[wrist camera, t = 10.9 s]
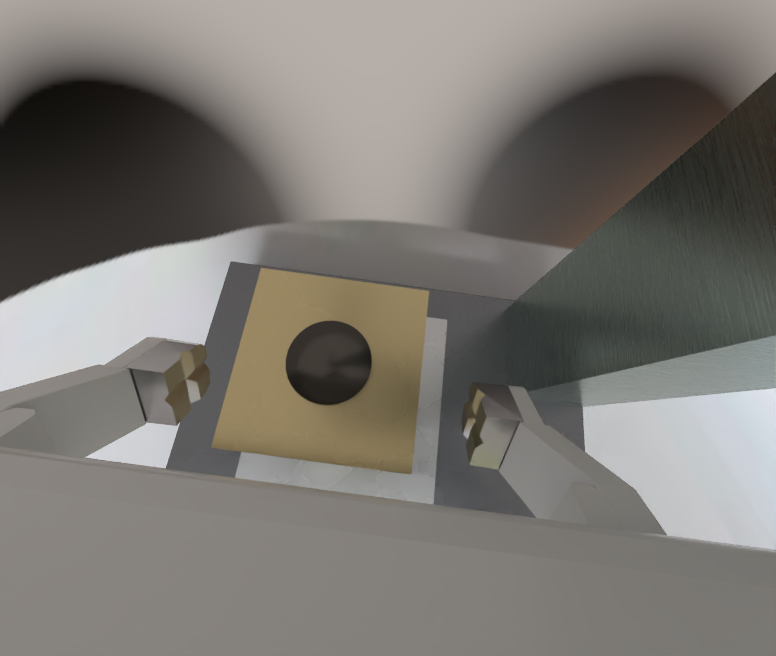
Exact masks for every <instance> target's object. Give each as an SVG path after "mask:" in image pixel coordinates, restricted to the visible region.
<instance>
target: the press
mask: <svg viewBox="0 0 776 656" xmlns="http://www.w3.org/2000/svg"><path fill="white" fill-rule="evenodd" d="M261 268H266V269H274V270H281V271H288V272H295V273H303V274H310V275H317V276H324V277H332V278H339V279H346V280H354V281H361V282H368V283H375V284H383V285H390V286H397V287H404V288H412V289H419V290H426V291H429V298H428V309H427V319H426V329H425V340H424V350H423V361H422V371H421V381H420V392H419V402H418V412H417V423H416V433H415V444H414V454H413V464H412V474H405V473H397V472H390V471H382V470H375V469H367V468H360V467H352V466H345V465H337V464H330V463H322V462H315V461H307V460H300V459H292V458H285V457H277V456H270V455H262V454H255V453H247V452H240V451H232V450H225V449H217V448H211V445H212V442H213V438H214V434H215V431H216V427H217V424H218V420H219V417H220V413H221V409H222V406H223V402H224V399H225V395H226V392H227V388H228V384H229V381H230V377H231V374H232V370H233V366H234V363H235V359H236V356H237V352H238V349H239V345H240V341H241V338H242V334H243V331H244V327H245V323H246V320H247V316H248V313H249V309H250V306H251V302H252V298H253V295H254V291H255V288H256V284H257V281H258V277H259V273H260V270H261ZM204 346H205V347H206V352H207V356H208V357H207V358H206V360H205V361H204V363H205V364H206V365H207V367H208V368H209V369H210V375H211V377H210V384H209V387H208V389H207V392H206V393H205V394H204V395H203V397H202V398H201V399H199V400H197V401H195V402H193V403H191V410H190V411H189V412H188V414H187V415H186V416H185V417H184V418H183V419H182V420H181V422H180V425H179V428H178V431H177V434H176V438H175V441H174V444H173V447H172V450H171V454H170V457H169V460H168V463H167V466H166V469H173V470H180V471H188V472H195V473H203V474H210V475H218V476H225V477H233V478H240V479H248V480H255V481H263V482H270V483H278V484H286V485H293V486H301V487H308V488H316V489H323V490H331V491H338V492H345V493H353V494H360V495H368V496H375V497H382V498H390V499H397V500H405V501H412V502H419V503H427V504H434V505H441V506H449V507H457V508H464V509H472V510H479V511H487V512H495V513H502V514H510V515H517V516H525V517H532V518H536V517H535V515H534V514H533V513H532V512H531V510H530V509H529V508H528V507H527V505H526V504H525V503H524V502H523V500H522V499H521V498H520V497H519V495H518V494H517V493H516V492H515V491H514V489H513V488H512V487H511V486H510V484H509V483H508V482H507V481H506V479H505V478H504V477H503V476H502V474H501V473H500V472H499V470H497V469H491V468H485V467H479V466H472V465H469V461H468V456H467V451H466V443H467V440H468V439H467V438H466V437H465V436H464V435H463V431H462V422H461V421H462V412H463V408H464V404H465V403H466V402H467V401H469V400H470V397H469V393H468V391H469V388H470V385H471V383H472V382H481V383H489V384H498V385H509V386H519V387H523V388H525V389H526V391H527V393H528V395H529V397H530V399H531V401H532V402H533V404H534V406H535V408H536V410H537V412H538V414H539V416H540V417H541V419H542V421H543V423H544V425H548V426H551V427H552V428H553V429H555V430H556V431H557V432H559V433H560V434H561V435H563V436H564V437H566V438H567V439H568V440H570V441H571V442H572V443H574V444H575V445H576V446H578V447H579V448H580V449H582V450H583V451H584V452H585V445H584V427H583V410H582V407H585V406H595V405H605V404H616V403H626V402H636V401H647V400H657V399H667V398H678V397H688V396H698V395H709V394H719V393H729V392H740V391H750V390H760V389H771V388H776V73H775V74H774V75H773V76H771V77H770V78H769V79H768V80H767V81H766V82H764V83H763V84H762V85H761V86H760V87H759V88H758V89H756V90H755V91H754V92H753V93H752V94H751V95H749V96H748V97H747V98H746V99H745V100H744V101H743V102H742V103H740V104H739V105H738V106H737V107H736V108H735V109H734V110H733V111H731V112H730V113H729V114H728V115H727V116H726V117H724V118H723V119H722V120H721V121H720V122H719V123H718V124H716V125H715V126H714V127H713V128H712V129H711V130H710V131H708V132H707V133H706V134H705V135H704V136H703V137H702V138H701V139H699V140H698V141H697V142H696V143H695V144H694V145H693V146H691V147H690V148H689V149H688V150H687V151H686V152H685V153H684V154H683V155H681V156H680V157H679V158H678V159H677V160H676V161H674V162H673V163H672V164H671V165H670V166H669V167H668V168H666V170H664V171H663V172H662V173H661V174H660V175H659V176H657V177H656V178H655V179H654V180H653V181H652V182H650V183H649V184H648V185H647V186H646V187H645V188H644V189H642V190H641V191H640V192H639V193H638V194H637V195H636V196H635V197H633V198H632V199H631V200H630V201H629V202H628V203H627V204H625V205H624V206H623V207H622V208H621V209H620V210H619V211H617V212H616V213H615V214H614V215H613V216H612V217H611V218H609V219H608V220H607V221H606V222H605V223H604V224H603V225H602V226H600V227H599V228H598V229H597V230H596V231H595V232H594V233H592V234H591V235H590V236H589V237H588V238H587V239H586V240H585V241H583V242H582V243H581V244H580V245H579V246H578V247H576V248H575V249H574V250H573V251H572V252H571V253H570V254H568V255H567V256H566V257H565V258H564V259H563V260H562V261H561V262H559V263H558V264H557V265H556V266H555V267H554V268H553V269H551V270H550V271H549V272H548V273H547V274H546V275H545V276H543V277H542V278H541V279H540V280H539V281H538V282H537V283H535V284H534V285H533V286H532V287H531V288H530V289H529V290H528V291H526V292H525V293H524V294H523V295H522V296H521V297H520V298H518V299H517V300H516V301H514V300H507V299H500V298H492V297H485V296H478V295H471V294H463V293H456V292H449V291H441V290H434V289H427V288H420V287H412V286H405V285H398V284H391V283H383V282H376V281H369V280H362V279H354V278H347V277H340V276H333V275H325V274H318V273H311V272H304V271H296V270H289V269H282V268H275V267H267V266H260V265H253V264H246V263H238V262H231V263H230V266H229V269H228V272H227V275H226V279H225V282H224V285H223V288H222V291H221V294H220V298H219V301H218V304H217V307H216V310H215V314H214V317H213V320H212V323H211V326H210V329H209V333H208V336H207V339H206V342H205V345H204Z"/></svg>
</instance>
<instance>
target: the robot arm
mask: <svg viewBox="0 0 776 656" xmlns="http://www.w3.org/2000/svg"><path fill="white" fill-rule="evenodd" d="M207 357H208V356H207V352H206V347H205V346H203V345H202V344H198V343H191V342H185V341H179V340H172V339H166V338H158V337H147V338H145V339H144V340H142V341H141V342H139V343H138V344H136V345H135V346H133V347H131V348H130V349H128V350H127V351H125V352H124V353H122V354H121V355H119V356H118V357H116V358H115V359H113V360H111V361H110V362H108V363H107V364H105V365H95V366H92V367H88V368H84V369H81V370H77V371H74V372H70V373H66V374H63V375H59V376H56V377H52V378H49V379H45V380H41V381H38V382H34V383H31V384H27V385H23V386H20V387H16V388H13V389H9V390H6V391H2V392H0V656H776V550H772V549H764V548H757V547H749V546H742V545H734V544H727V543H719V542H712V541H704V540H697V539H689V538H682V537H674V536H667V534H666V533H665V531H664V530H663V529H662V527H661V526H660V524H659V523H658V521H657V520H656V519H655V517H654V516H653V514H652V513H651V511H650V510H649V509H648V507H647V506H646V504H645V503H644V501H643V500H642V499H641V497H640V496H639V494H638V493H637V491H636V490H635V489H634V488H633V487H631V486H630V485H628V484H627V483H626V482H624V481H623V480H622V479H620V478H619V477H618V476H616V475H615V474H614V473H612V472H611V471H610V470H608V469H607V468H606V467H604V466H603V465H602V464H600V463H599V462H598V461H596V460H595V459H594V458H592V457H591V456H590V455H588V454H587V453H586V452H584V451H583V450H582V449H580V448H579V447H578V446H576V445H575V444H574V443H572V442H571V441H570V440H568V439H567V438H566V437H564V436H563V435H561V434H560V433H559V432H557V431H556V430H555V429H553V428H552V427H551V426H548V425H544V423H543V421H542V419H541V417H540V416H539V414H538V412H537V410H536V408H535V406H534V404H533V402H532V401H531V399H530V397H529V395H528V393H527V391H526V389H525V388H523V387H519V386H509V385H498V384H489V383H481V382H472V383H471V385H470V388H469V391H468V393H469V397H470V400H469V401H467V402H466V403H465V404H464V408H463V412H462V421H461V422H462V431H463V435H464V436H465V437H466V438H467V439H468V440H467V443H466V451H467V456H468V461H469V465H472V466H479V467H485V468H491V469H497V470H499V472H500V473H501V474H502V476H503V477H504V478H505V479H506V481H507V482H508V483H509V484H510V486H511V487H512V488H513V489H514V491H515V492H516V493H517V494H518V495H519V497H520V498H521V499H522V500H523V502H524V503H525V504H526V505H527V507H528V508H529V509H530V510H531V512H532V513H533V514H534V515H535V517H536V518H532V517H525V516H517V515H510V514H502V513H495V512H487V511H479V510H472V509H464V508H457V507H449V506H441V505H434V504H427V503H419V502H412V501H405V500H397V499H390V498H382V497H375V496H368V495H360V494H353V493H345V492H338V491H331V490H323V489H316V488H308V487H301V486H293V485H286V484H278V483H270V482H263V481H255V480H248V479H240V478H233V477H225V476H218V475H210V474H203V473H195V472H188V471H180V470H173V469H165V468H158V467H150V466H143V465H135V464H128V463H120V462H113V461H106V460H98V459H91V458H84V457H86V456H88V455H90V454H92V453H94V452H95V451H97V450H99V449H101V448H103V447H104V446H106V445H108V444H110V443H112V442H114V441H115V440H117V439H119V438H121V437H123V436H125V435H126V434H128V433H130V432H132V431H134V430H136V429H137V428H139V427H141V426H143V425H145V424H146V422H148V423H157V424H166V425H176V426H177V425H178V424H179V422H180V421H181V420H182V419H183V418H184V417H185V416H186V415H187V414H188V412H189V411H190V410H191V403H193V402H195V401H197V400H199V399H201V398H202V397H203V395H204V394H205V393H206V392H207V389H208V387H209V384H210V377H211V375H210V369H209V368H208V367H207V365H206V364H205V363H204V361H205V360H206V358H207Z"/></svg>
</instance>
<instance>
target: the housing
mask: <svg viewBox="0 0 776 656" xmlns="http://www.w3.org/2000/svg"><path fill="white" fill-rule="evenodd" d="M428 298H429V291H426V290H419V289H412V288H404V287H397V286H390V285H383V284H375V283H368V282H361V281H354V280H346V279H339V278H332V277H324V276H317V275H310V274H303V273H295V272H288V271H281V270H274V269H266V268H261V270H260V273H259V277H258V281H257V284H256V288H255V291H254V295H253V298H252V302H251V306H250V309H249V313H248V316H247V320H246V323H245V327H244V331H243V334H242V338H241V341H240V345H239V349H238V352H237V356H236V359H235V363H234V366H233V370H232V374H231V377H230V381H229V384H228V388H227V392H226V395H225V399H224V402H223V406H222V409H221V413H220V417H219V420H218V424H217V427H216V431H215V434H214V438H213V442H212V445H211V448H217V449H225V450H232V451H240V452H247V453H255V454H262V455H270V456H277V457H285V458H292V459H300V460H307V461H315V462H322V463H330V464H337V465H345V466H352V467H360V468H367V469H375V470H382V471H390V472H397V473H405V474H412V464H413V454H414V444H415V433H416V423H417V412H418V402H419V392H420V381H421V371H422V361H423V350H424V340H425V329H426V319H427V309H428Z"/></svg>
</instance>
